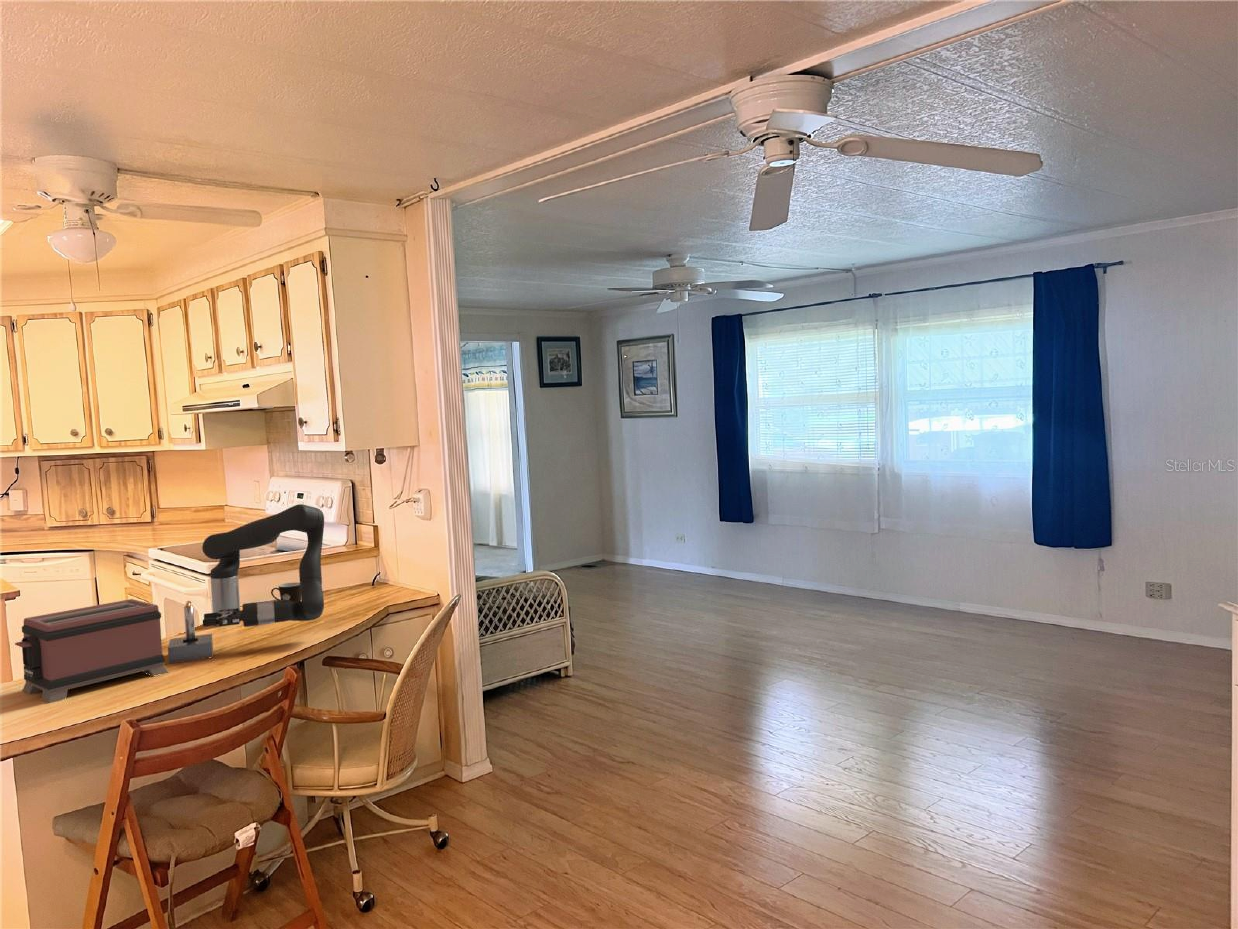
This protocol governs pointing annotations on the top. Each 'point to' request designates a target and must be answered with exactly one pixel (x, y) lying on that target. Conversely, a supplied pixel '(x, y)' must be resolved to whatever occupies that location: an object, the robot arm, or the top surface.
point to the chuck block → (190, 648)
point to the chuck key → (189, 622)
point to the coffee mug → (289, 592)
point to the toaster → (90, 646)
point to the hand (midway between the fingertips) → (203, 620)
